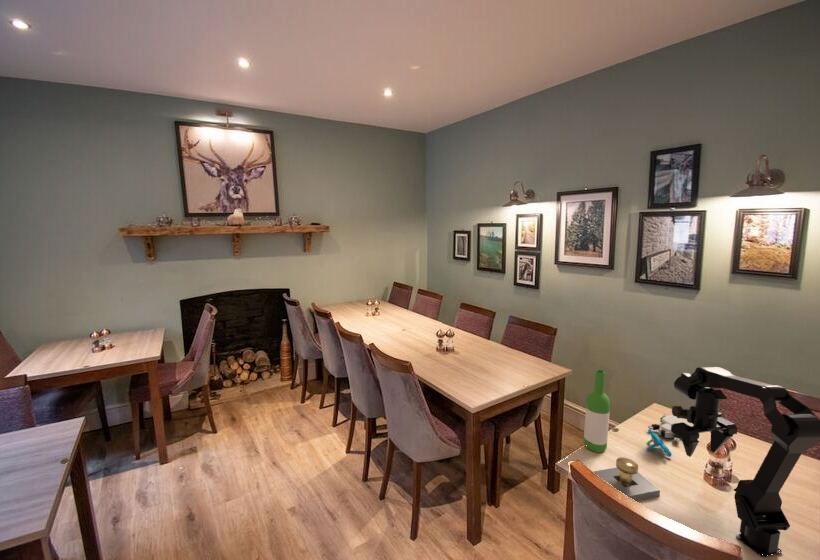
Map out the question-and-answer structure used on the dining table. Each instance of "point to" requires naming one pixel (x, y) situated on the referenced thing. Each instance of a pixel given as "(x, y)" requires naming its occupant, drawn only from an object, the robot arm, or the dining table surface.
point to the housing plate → (638, 489)
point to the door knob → (626, 470)
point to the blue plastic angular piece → (657, 442)
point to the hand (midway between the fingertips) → (700, 453)
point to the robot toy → (668, 426)
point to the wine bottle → (597, 416)
